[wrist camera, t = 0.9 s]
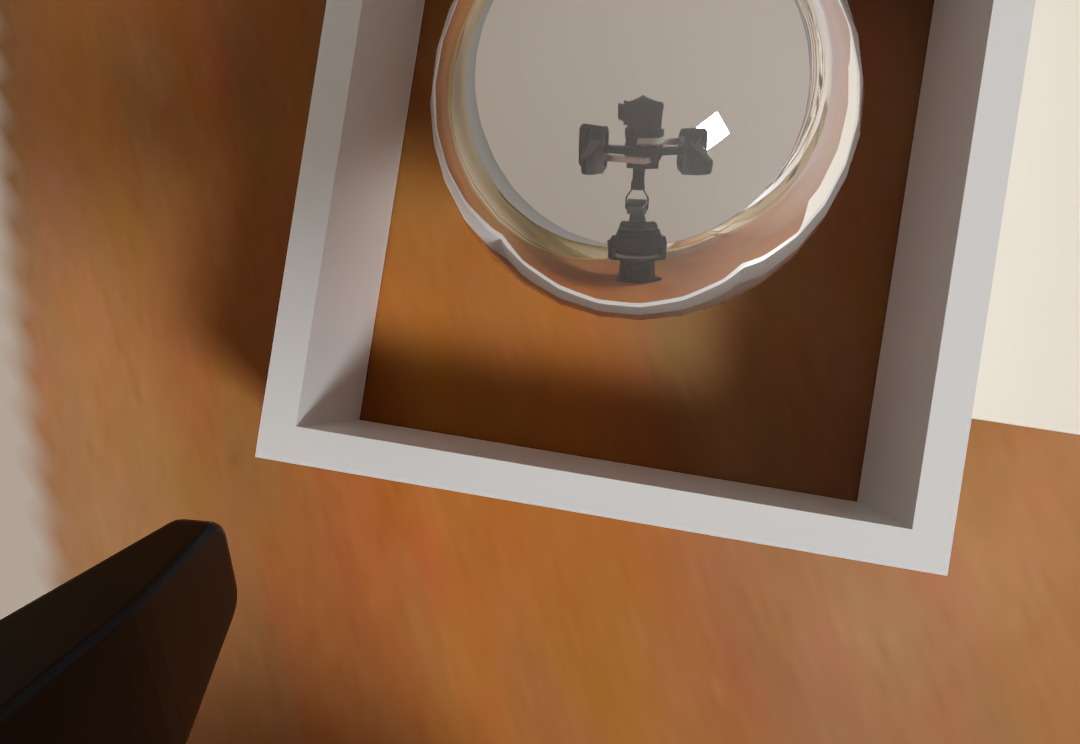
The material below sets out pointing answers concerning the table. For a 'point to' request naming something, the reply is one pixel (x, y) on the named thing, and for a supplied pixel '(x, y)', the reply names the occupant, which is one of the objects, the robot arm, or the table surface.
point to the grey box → (629, 490)
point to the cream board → (1039, 243)
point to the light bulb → (645, 141)
